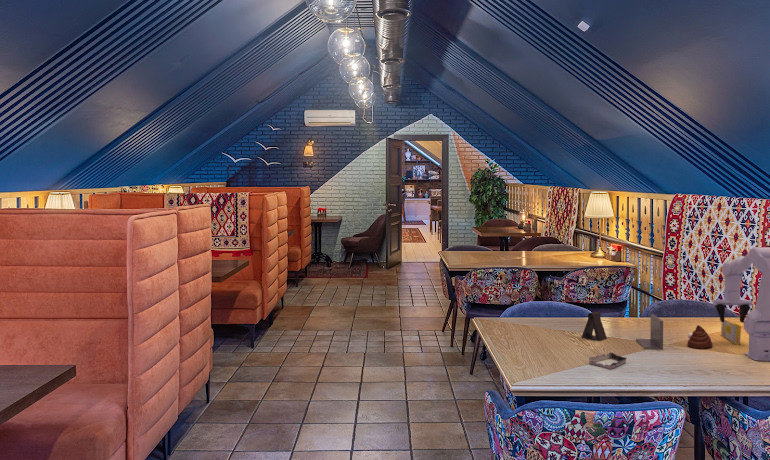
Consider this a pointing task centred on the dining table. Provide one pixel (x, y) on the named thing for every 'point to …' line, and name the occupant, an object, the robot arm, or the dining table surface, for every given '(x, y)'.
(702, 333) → the poop emoji
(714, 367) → the dining table surface
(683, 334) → the dining table surface
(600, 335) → the phone stand
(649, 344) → the bookend
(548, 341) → the dining table surface
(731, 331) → the candy box
